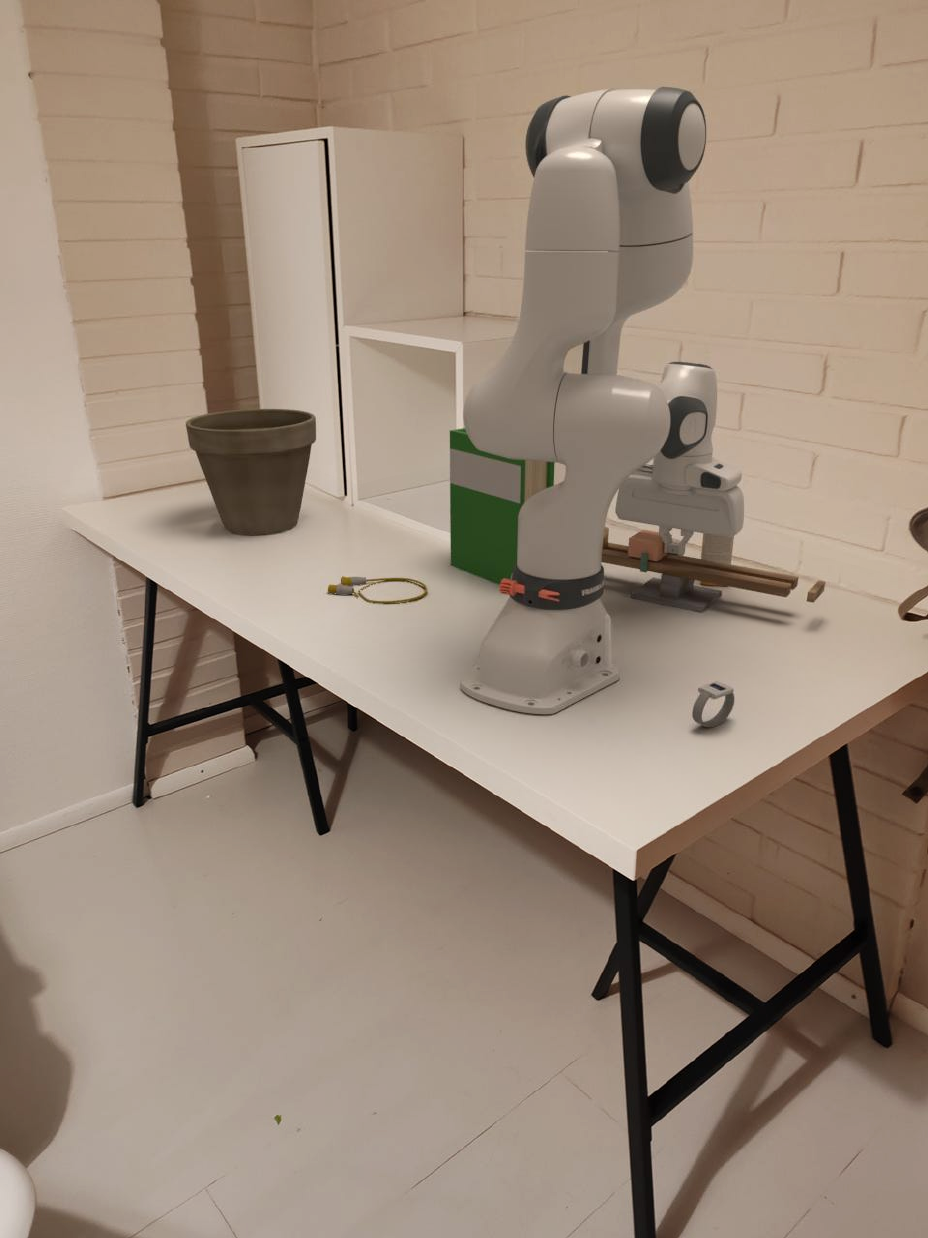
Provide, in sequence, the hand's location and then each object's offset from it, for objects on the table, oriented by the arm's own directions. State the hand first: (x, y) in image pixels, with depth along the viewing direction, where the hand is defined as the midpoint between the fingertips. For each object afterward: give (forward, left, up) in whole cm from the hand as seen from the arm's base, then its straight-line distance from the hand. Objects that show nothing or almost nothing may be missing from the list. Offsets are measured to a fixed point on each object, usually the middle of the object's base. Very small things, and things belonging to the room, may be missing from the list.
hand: (674, 554), depth 154 cm
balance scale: (0, -1, -7) cm, 7 cm away
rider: (0, +4, -2) cm, 5 cm away
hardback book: (-6, +29, -7) cm, 31 cm away
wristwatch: (-39, -21, -7) cm, 45 cm away
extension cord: (-24, +41, -8) cm, 48 cm away
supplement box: (+12, -3, -7) cm, 14 cm away
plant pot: (-7, +85, -7) cm, 86 cm away
